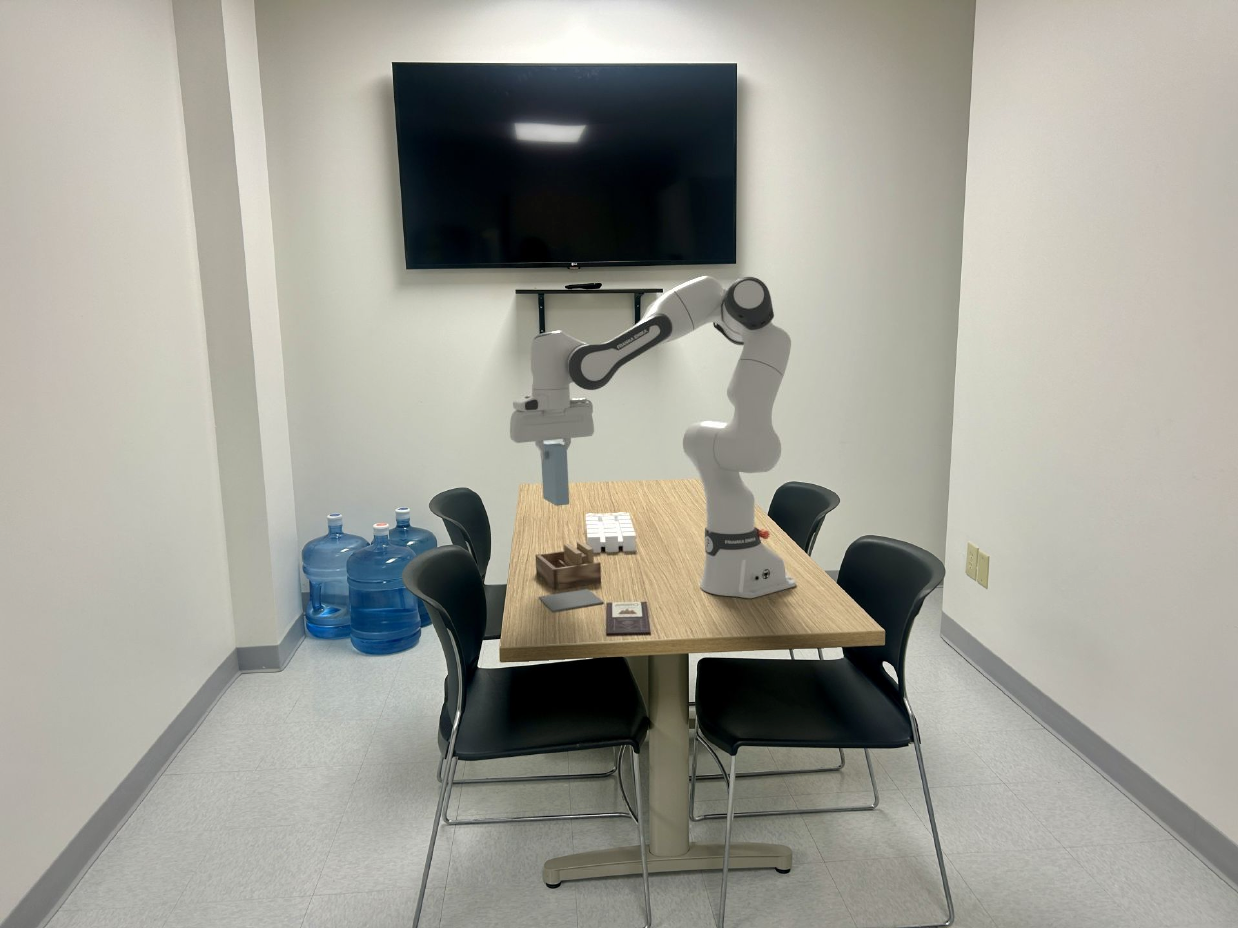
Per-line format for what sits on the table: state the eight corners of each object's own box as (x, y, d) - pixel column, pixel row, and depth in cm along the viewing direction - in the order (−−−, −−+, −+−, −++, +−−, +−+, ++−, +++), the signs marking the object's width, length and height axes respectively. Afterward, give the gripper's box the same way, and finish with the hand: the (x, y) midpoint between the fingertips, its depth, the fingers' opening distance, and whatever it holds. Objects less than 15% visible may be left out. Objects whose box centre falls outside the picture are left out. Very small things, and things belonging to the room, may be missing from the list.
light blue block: (555, 497, 203) (552, 441, 201) (569, 504, 194) (566, 445, 192) (543, 498, 202) (540, 442, 200) (556, 505, 193) (553, 447, 191)
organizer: (587, 537, 224) (585, 508, 258) (588, 554, 224) (585, 522, 259) (635, 535, 224) (626, 506, 259) (636, 552, 225) (626, 521, 259)
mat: (587, 590, 193) (587, 588, 193) (603, 603, 184) (603, 601, 184) (538, 598, 188) (538, 596, 188) (552, 611, 179) (552, 610, 179)
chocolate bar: (606, 633, 165) (606, 602, 183) (606, 637, 165) (606, 606, 183) (650, 632, 165) (646, 601, 183) (650, 636, 166) (646, 605, 183)
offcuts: (579, 563, 209) (578, 539, 208) (594, 574, 200) (593, 549, 199) (563, 566, 207) (562, 541, 206) (577, 577, 198) (576, 551, 197)
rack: (580, 567, 211) (580, 548, 210) (601, 582, 199) (600, 562, 198) (536, 573, 207) (535, 554, 206) (554, 589, 194) (553, 569, 193)
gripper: (587, 396, 201) (589, 452, 203) (506, 402, 193) (509, 460, 195) (597, 398, 195) (599, 455, 198) (513, 404, 187) (517, 464, 190)
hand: (553, 458), depth 196 cm, fingers closed on light blue block, 3 cm apart
